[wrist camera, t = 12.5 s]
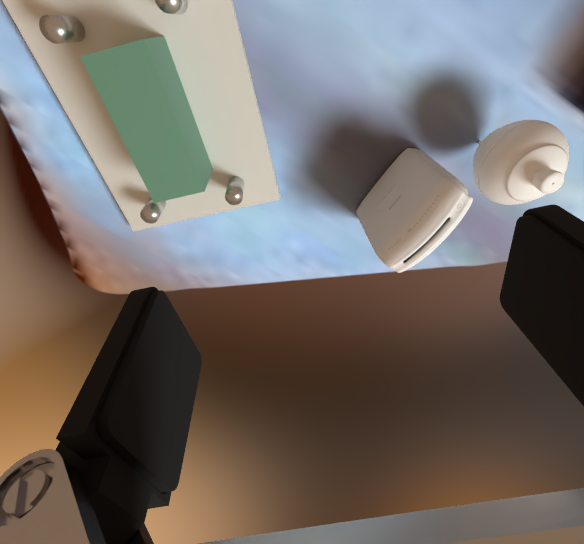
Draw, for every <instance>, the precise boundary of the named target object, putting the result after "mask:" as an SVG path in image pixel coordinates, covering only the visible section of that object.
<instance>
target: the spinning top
mask: <svg viewBox="0 0 584 544" xmlns="http://www.w3.org/2000/svg"><path fill="white" fill-rule="evenodd" d="M478 144H479V146H478V148H477V150H476V152H475V155H474V158H473V177H474V181H475V184H476V186H477V188H478V189H479V191H480V192H481V193H482V194H483V195H484V196H485V197H486V198H488V199H489V200H491V201H494V202H496V203H500V204H506V205H515V204H522V203H526V202H529V201H532V200H535V199H538V198H540V197H542V196H544V195H546V194H549V193H552V192H554V191H556V190H557V189H559V188H560V186H561V185H562V184H563V182H564V174H565V172H566V170H567V166H568V160H569V147H568V143H567V140H566V138H565V136H564V134H563V133H562V132H561V131H560V130H559V129H558V128H557V127H555V126H554V125H552V124H550V123H548V122H544V121H539V120H523V121H518V122H514V123H511V124H508V125H505V126H503V127H501V128H498V129H496V130H495V131H493V132H492V133H490V134H489V135H488V136H487V137H485V138H484V139H483V140H482V141H479V142H478Z"/></svg>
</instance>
